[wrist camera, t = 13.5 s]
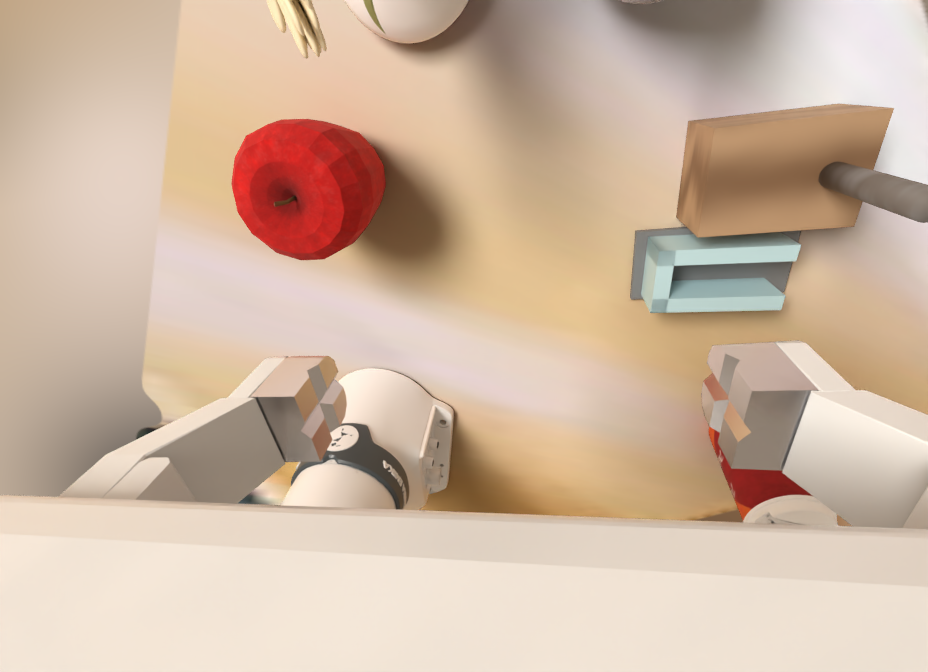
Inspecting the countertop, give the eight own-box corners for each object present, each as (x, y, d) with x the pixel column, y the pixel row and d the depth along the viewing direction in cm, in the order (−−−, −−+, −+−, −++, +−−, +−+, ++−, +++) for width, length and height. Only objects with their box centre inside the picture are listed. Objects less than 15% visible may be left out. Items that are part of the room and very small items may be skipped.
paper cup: (685, 439, 53) (730, 544, 41) (725, 394, 49) (788, 496, 37) (742, 460, 53) (803, 570, 41) (787, 417, 49) (868, 525, 37)
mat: (781, 289, 42) (784, 292, 41) (630, 297, 44) (631, 299, 44) (800, 218, 38) (803, 219, 38) (635, 230, 41) (636, 232, 40)
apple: (333, 239, 45) (265, 294, 34) (274, 143, 41) (174, 168, 29) (419, 199, 42) (377, 245, 30) (365, 89, 38) (292, 94, 26)
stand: (810, 206, 38) (953, 271, 25) (676, 217, 40) (745, 282, 27) (838, 103, 34) (1026, 118, 21) (688, 121, 36) (776, 144, 23)
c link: (641, 294, 43) (650, 312, 40) (648, 236, 40) (659, 251, 37) (760, 291, 42) (781, 310, 38) (777, 230, 39) (801, 245, 35)
